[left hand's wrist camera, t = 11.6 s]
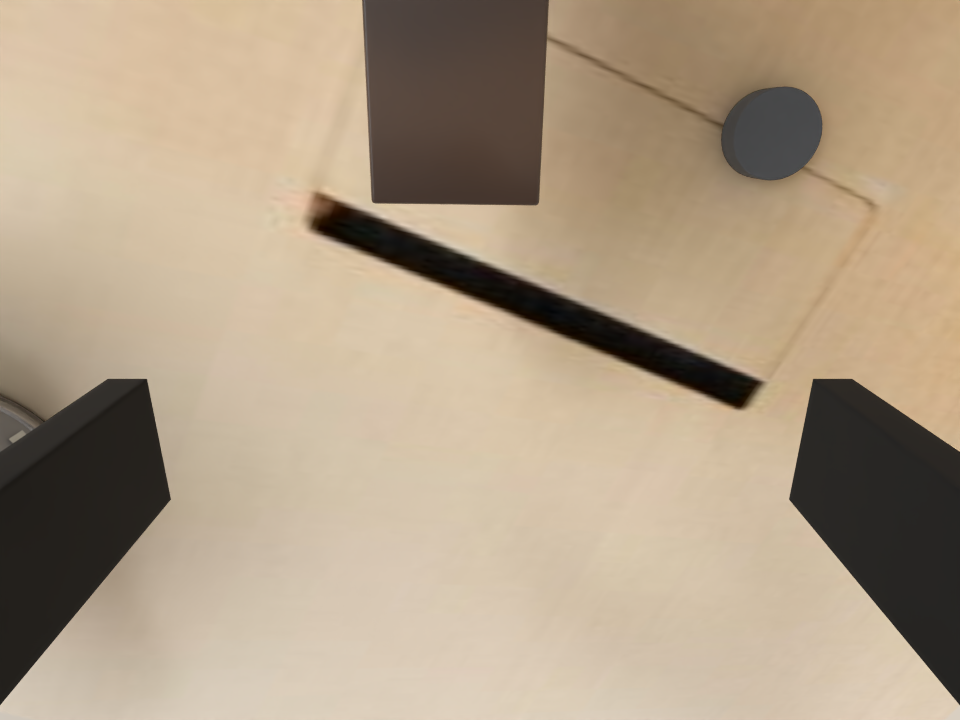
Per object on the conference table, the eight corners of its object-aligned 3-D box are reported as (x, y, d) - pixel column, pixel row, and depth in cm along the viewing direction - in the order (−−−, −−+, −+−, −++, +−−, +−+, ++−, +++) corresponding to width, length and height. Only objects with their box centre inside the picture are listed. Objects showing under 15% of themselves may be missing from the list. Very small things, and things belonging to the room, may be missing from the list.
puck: (739, 193, 39) (752, 196, 37) (707, 117, 37) (719, 117, 35) (817, 150, 38) (835, 151, 36) (788, 71, 36) (805, 68, 34)
